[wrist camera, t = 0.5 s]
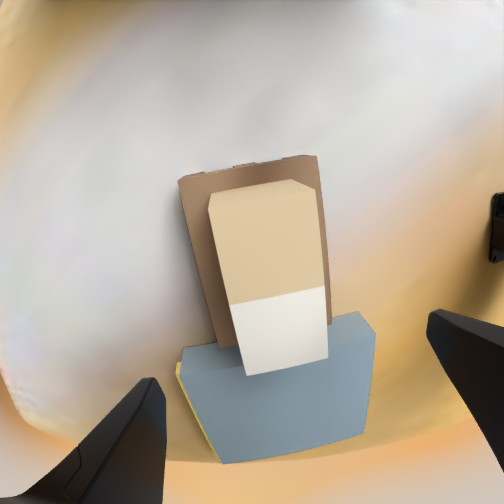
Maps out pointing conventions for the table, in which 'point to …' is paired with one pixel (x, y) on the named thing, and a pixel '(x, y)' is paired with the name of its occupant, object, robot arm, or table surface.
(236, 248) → the tan carton
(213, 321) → the pallet
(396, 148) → the table surface
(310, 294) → the off-white carton
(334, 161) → the table surface
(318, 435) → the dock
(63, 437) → the table surface
